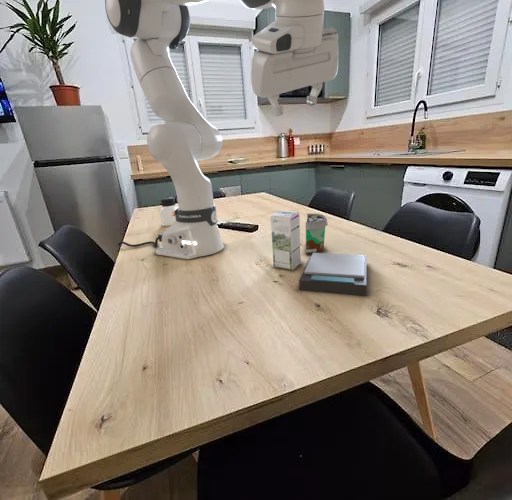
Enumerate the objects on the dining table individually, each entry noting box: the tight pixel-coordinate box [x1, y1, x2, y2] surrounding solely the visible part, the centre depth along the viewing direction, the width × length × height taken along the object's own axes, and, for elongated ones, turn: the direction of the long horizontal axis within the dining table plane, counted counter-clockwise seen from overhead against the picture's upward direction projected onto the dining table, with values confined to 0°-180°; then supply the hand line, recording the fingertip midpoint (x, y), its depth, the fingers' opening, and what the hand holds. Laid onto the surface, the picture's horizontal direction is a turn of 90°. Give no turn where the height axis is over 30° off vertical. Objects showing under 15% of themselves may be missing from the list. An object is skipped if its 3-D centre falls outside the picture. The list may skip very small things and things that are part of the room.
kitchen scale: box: [298, 252, 368, 297], centre depth 71 cm, size 14×17×3 cm
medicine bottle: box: [158, 197, 179, 227], centre depth 136 cm, size 7×7×12 cm
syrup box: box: [270, 210, 302, 271], centre depth 78 cm, size 6×6×14 cm
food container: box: [305, 213, 329, 256], centre depth 89 cm, size 12×6×10 cm, turn 168°
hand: (294, 109), depth 65 cm, fingers open, 8 cm apart
